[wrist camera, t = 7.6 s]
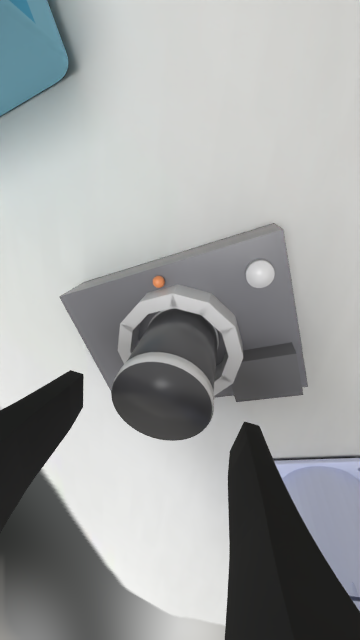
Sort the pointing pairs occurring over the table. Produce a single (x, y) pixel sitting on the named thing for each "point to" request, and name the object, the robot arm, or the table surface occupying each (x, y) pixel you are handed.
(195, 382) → the lens
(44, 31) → the data package
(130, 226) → the table surface
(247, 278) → the camera body
